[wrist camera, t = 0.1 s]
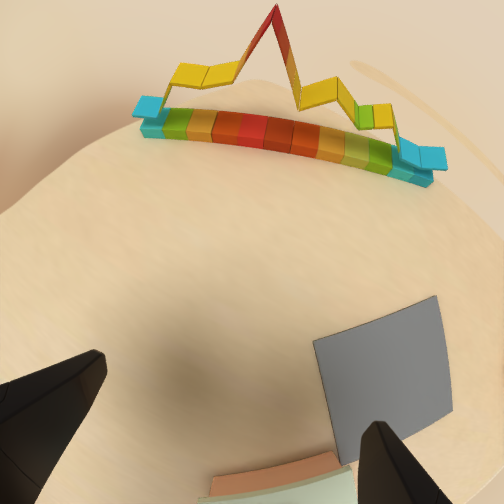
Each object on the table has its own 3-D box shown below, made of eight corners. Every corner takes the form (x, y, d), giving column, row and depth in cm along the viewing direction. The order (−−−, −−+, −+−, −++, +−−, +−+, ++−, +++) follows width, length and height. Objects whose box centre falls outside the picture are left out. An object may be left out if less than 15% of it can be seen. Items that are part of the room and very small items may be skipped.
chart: (422, 164, 26) (498, 82, 12) (424, 188, 26) (512, 111, 11) (155, 116, 28) (109, 10, 13) (145, 139, 27) (88, 32, 12)
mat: (450, 410, 20) (452, 410, 20) (340, 464, 19) (341, 466, 19) (434, 295, 23) (436, 295, 22) (312, 341, 22) (313, 341, 22)
